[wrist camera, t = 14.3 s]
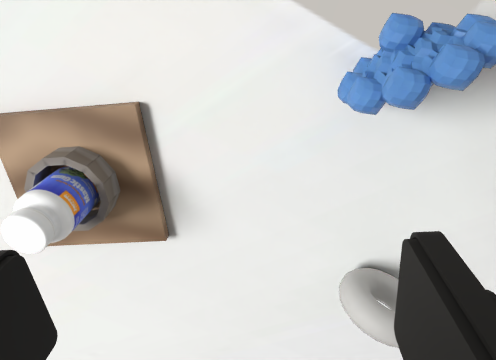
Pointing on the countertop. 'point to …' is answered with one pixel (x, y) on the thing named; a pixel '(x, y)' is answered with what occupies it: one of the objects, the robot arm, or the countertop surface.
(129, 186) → the base
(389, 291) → the donut
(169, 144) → the countertop surface
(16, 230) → the pill bottle
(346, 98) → the grapes
